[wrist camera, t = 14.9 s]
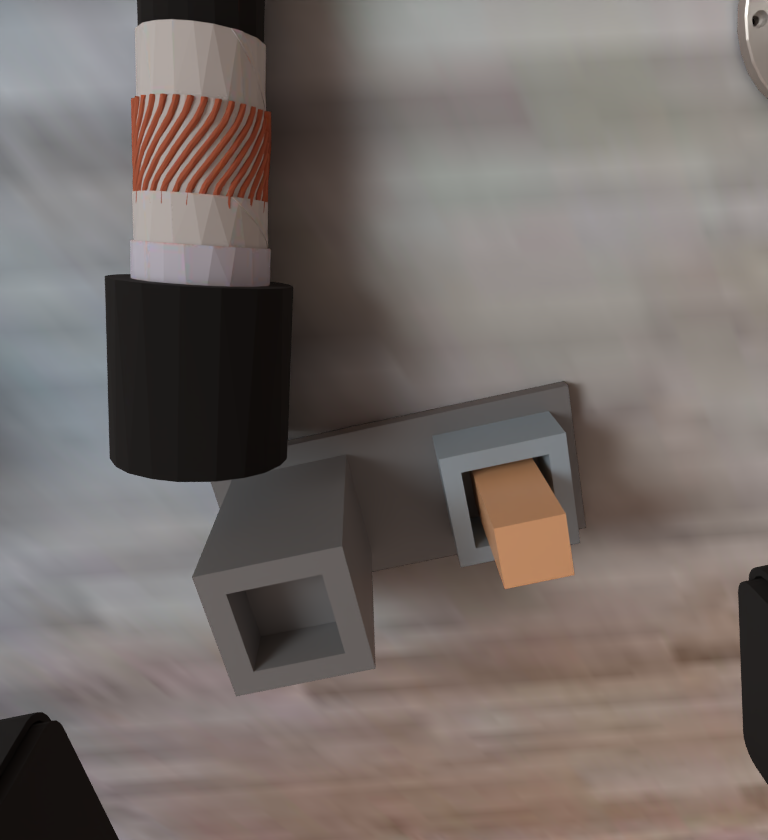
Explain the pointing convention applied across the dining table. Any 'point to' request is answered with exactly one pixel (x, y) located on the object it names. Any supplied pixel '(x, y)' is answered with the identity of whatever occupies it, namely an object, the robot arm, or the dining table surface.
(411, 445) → the socket stand
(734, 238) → the dining table surface
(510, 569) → the peg
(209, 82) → the cable
